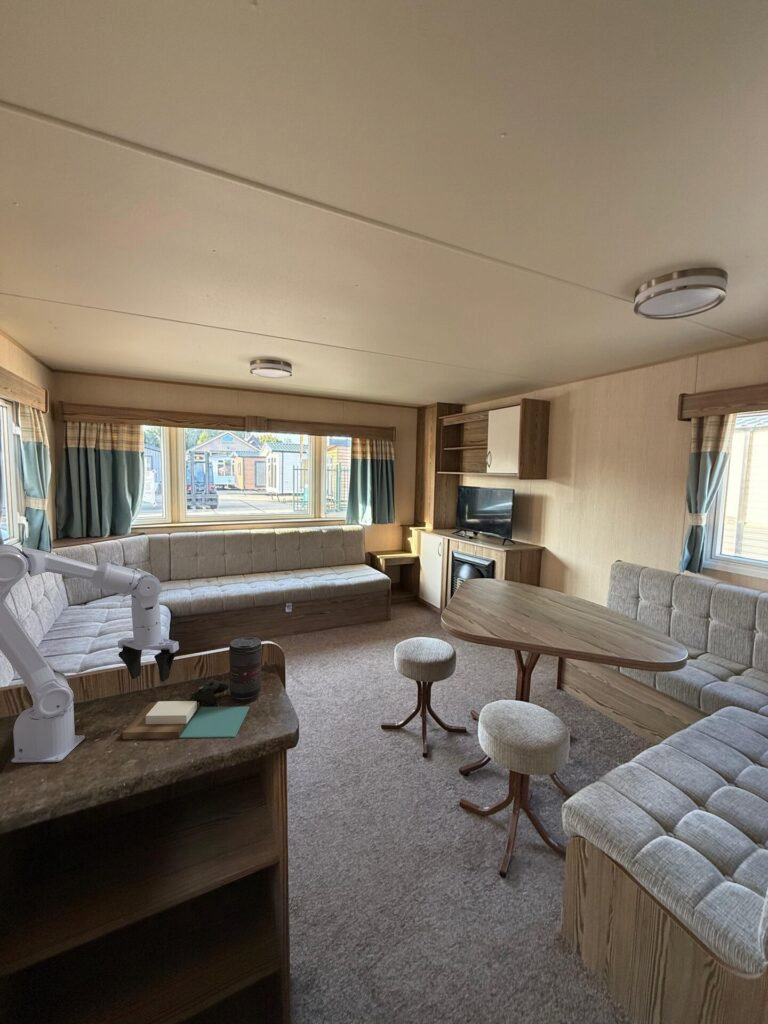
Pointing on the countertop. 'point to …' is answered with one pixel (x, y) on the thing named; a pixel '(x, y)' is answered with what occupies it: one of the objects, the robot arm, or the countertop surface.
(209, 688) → the game controller
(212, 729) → the teal mat
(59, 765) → the countertop surface
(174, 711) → the cream tile
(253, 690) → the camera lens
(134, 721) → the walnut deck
